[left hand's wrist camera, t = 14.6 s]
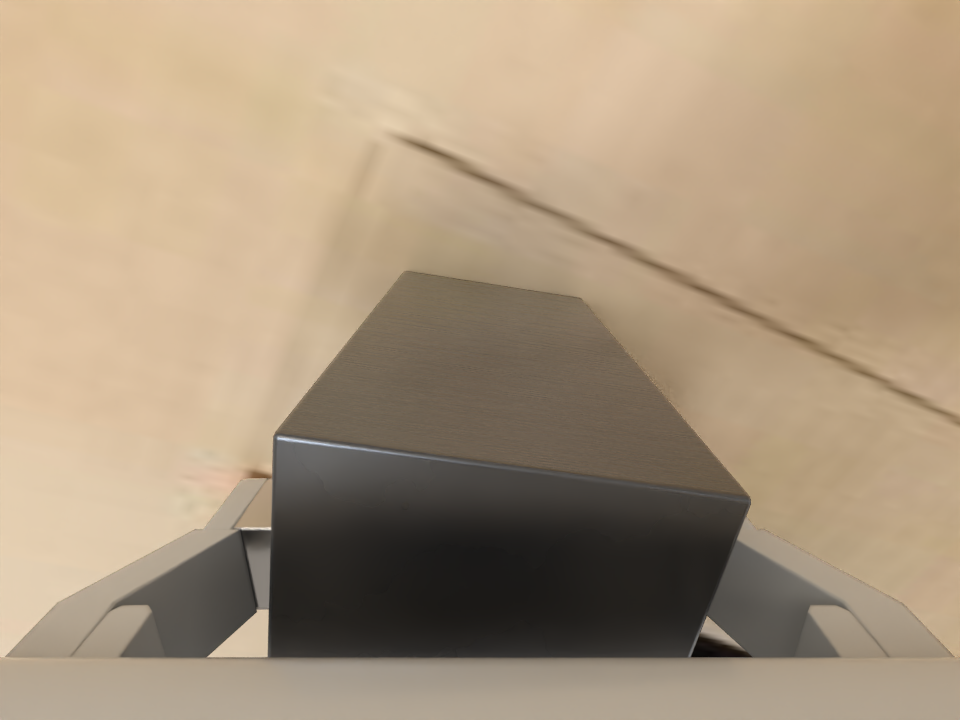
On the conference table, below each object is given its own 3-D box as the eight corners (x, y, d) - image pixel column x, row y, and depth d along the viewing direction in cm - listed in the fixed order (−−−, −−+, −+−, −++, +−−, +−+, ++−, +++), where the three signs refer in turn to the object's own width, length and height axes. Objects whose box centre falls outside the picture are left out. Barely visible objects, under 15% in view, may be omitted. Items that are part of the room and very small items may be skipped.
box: (403, 270, 17) (270, 433, 6) (581, 297, 17) (756, 499, 6) (352, 751, 25) (253, 1199, 14) (475, 764, 25) (473, 1212, 14)
